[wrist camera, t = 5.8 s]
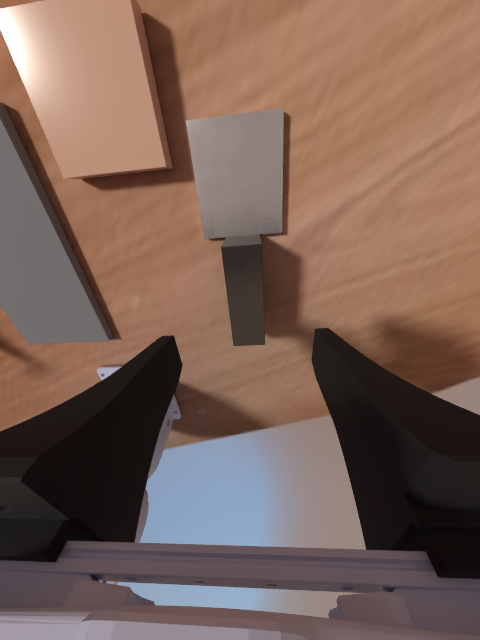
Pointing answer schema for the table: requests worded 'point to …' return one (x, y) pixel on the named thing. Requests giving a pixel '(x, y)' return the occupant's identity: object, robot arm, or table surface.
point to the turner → (240, 203)
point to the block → (90, 84)
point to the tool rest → (39, 257)
